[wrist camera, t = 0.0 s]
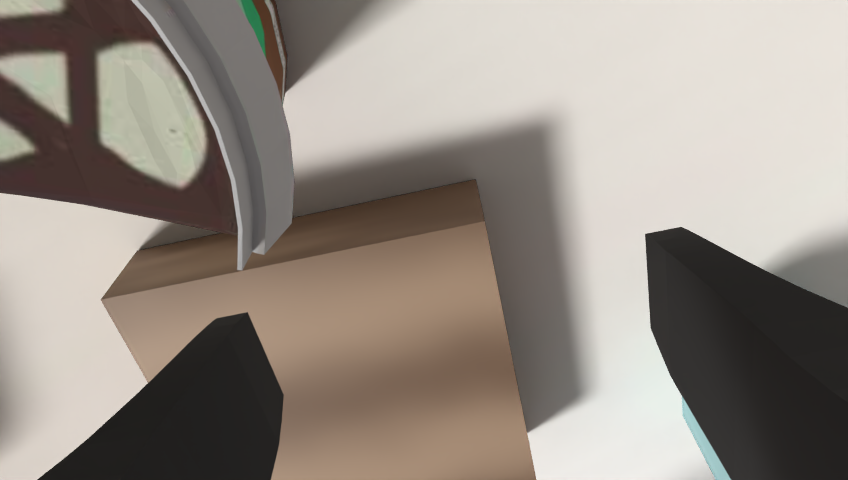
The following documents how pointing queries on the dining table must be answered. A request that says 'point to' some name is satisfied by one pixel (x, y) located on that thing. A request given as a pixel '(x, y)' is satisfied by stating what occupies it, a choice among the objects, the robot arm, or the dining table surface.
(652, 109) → the dining table surface
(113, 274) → the dining table surface
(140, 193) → the food container
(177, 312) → the walnut base
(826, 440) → the robot arm
